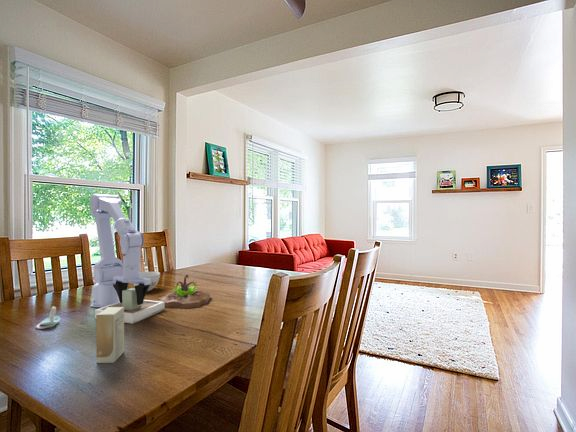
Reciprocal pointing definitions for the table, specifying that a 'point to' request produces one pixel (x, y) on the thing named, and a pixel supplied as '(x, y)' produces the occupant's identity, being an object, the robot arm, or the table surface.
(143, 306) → the hole plate
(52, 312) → the pacifier
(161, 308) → the tray
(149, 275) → the teacup
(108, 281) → the robot arm
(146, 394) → the table surface
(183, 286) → the plant
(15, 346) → the table surface
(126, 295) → the peg
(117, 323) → the skincare box
